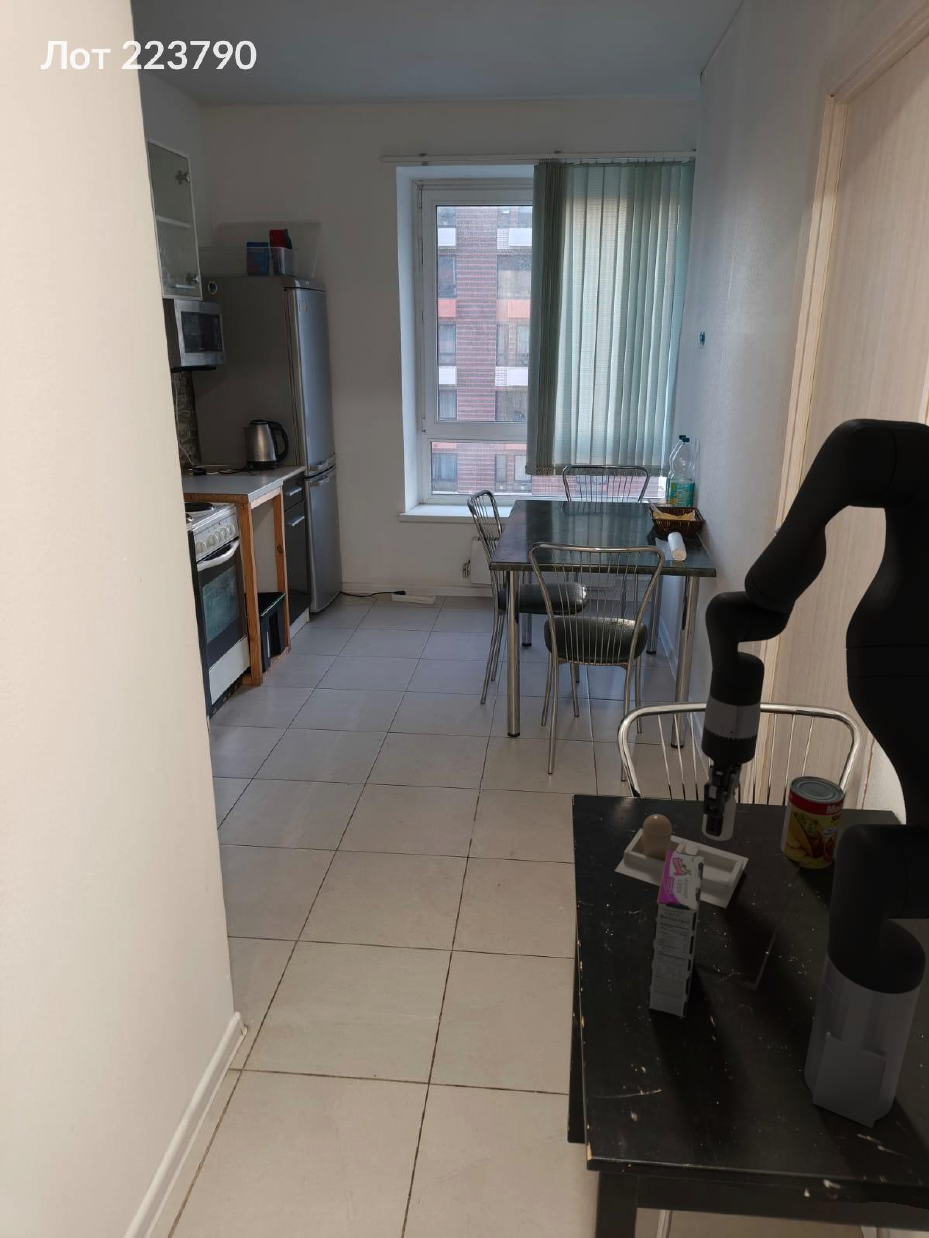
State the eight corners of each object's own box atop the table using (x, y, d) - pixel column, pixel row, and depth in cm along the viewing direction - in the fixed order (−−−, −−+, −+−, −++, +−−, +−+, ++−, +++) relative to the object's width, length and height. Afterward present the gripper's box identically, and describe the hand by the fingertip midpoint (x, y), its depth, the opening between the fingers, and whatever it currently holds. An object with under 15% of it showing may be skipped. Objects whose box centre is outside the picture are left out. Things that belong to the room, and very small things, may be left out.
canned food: (834, 873, 133) (846, 805, 129) (780, 863, 136) (791, 796, 132) (830, 844, 140) (842, 780, 136) (779, 836, 143) (789, 772, 139)
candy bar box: (655, 950, 117) (666, 847, 111) (693, 959, 115) (706, 855, 110) (644, 1009, 107) (655, 900, 101) (685, 1020, 105) (699, 909, 100)
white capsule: (727, 843, 127) (733, 801, 124) (698, 834, 129) (703, 793, 126) (735, 829, 130) (741, 787, 128) (706, 820, 132) (711, 779, 130)
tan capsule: (663, 867, 133) (667, 827, 131) (636, 858, 135) (640, 818, 133) (672, 852, 137) (676, 813, 134) (645, 844, 139) (649, 805, 136)
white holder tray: (725, 911, 124) (727, 898, 124) (614, 873, 132) (615, 861, 132) (748, 861, 136) (749, 849, 135) (644, 829, 144) (645, 818, 143)
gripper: (745, 751, 116) (730, 858, 122) (769, 711, 127) (754, 810, 133) (690, 737, 119) (678, 842, 125) (718, 699, 131) (706, 797, 137)
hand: (717, 825), depth 129 cm, fingers closed on white capsule, 4 cm apart
